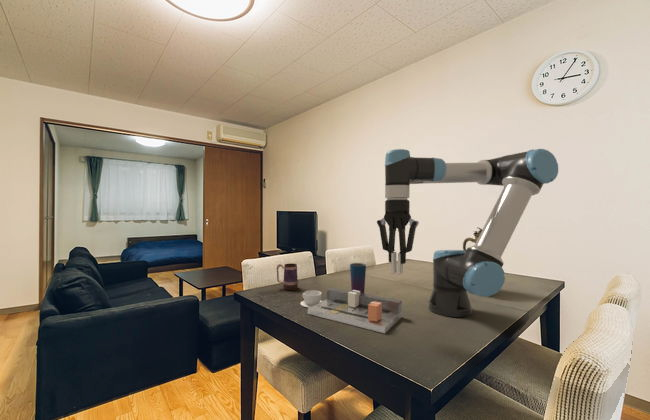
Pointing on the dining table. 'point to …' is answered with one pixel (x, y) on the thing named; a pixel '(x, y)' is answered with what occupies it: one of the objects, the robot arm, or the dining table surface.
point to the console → (357, 310)
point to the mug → (289, 276)
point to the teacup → (311, 298)
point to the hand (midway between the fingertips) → (397, 273)
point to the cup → (358, 276)
